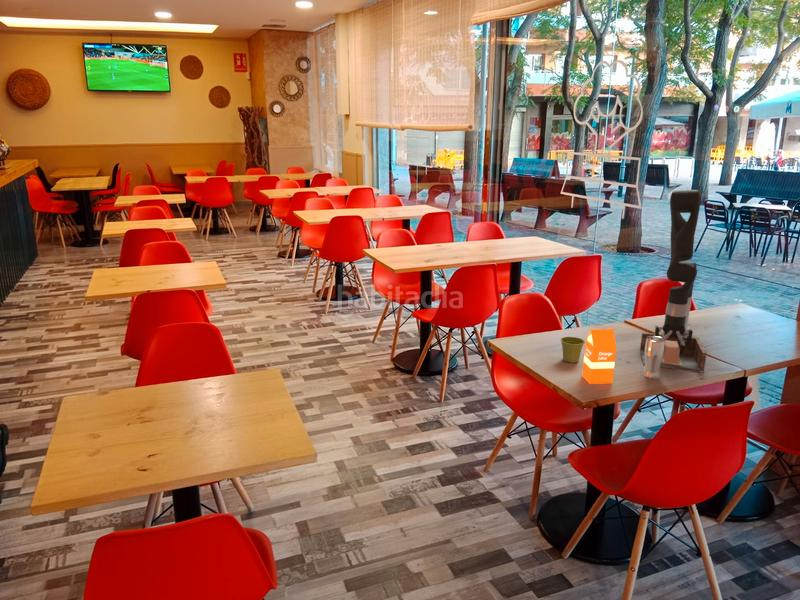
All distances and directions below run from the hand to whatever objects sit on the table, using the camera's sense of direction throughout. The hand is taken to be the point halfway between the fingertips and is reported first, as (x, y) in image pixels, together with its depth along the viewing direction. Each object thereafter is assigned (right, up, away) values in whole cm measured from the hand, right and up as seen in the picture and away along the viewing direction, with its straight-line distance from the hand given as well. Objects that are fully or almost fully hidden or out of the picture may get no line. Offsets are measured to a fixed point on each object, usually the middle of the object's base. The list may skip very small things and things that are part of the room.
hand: (670, 352), depth 248 cm
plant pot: (-40, -4, +1) cm, 40 cm away
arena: (+1, -4, +2) cm, 4 cm away
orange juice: (-35, -9, -17) cm, 40 cm away
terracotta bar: (0, -3, +1) cm, 3 cm away
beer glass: (-13, -8, -13) cm, 20 cm away
